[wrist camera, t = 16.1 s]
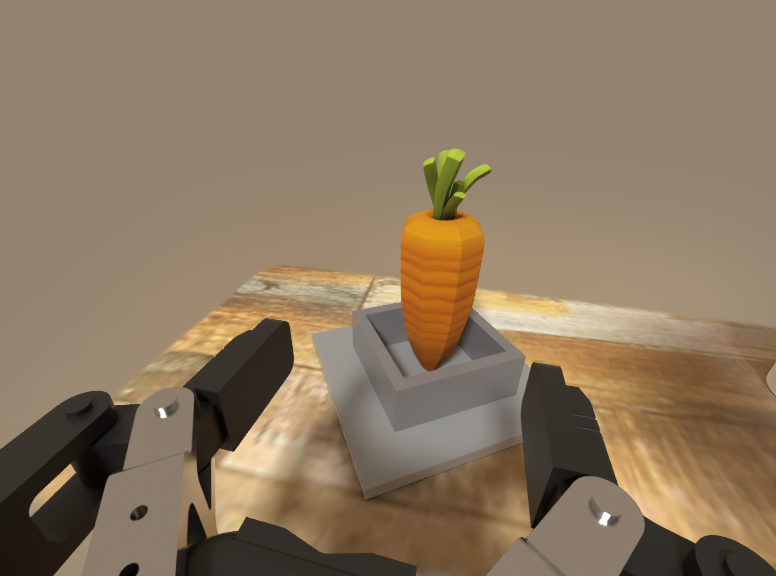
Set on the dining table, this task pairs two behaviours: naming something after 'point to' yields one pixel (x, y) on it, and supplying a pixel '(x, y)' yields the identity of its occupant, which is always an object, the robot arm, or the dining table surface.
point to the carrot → (440, 262)
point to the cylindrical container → (772, 379)
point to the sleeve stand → (419, 397)
